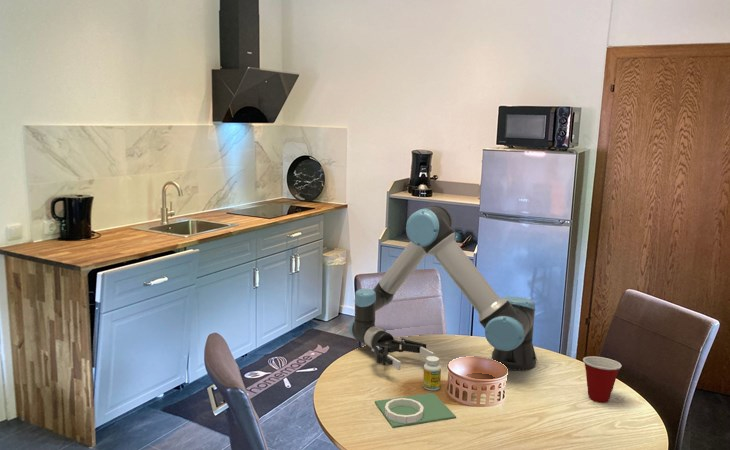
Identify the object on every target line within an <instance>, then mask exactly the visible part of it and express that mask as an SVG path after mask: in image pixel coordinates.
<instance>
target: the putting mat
mask: <svg viewBox="0 0 730 450" xmlns="http://www.w3.org/2000/svg"><path fill="white" fill-rule="evenodd" d="M398 398H406V399H413V400H415V401H418V402H420V403H421V405H422V406H423V407H424V409H423V417H422V419H421V420H419V421H417V422H414V423H408V424H407V423H406V424H405V423H397V422H394V421H392V420H390V419H388V418H387V416H386V415H385V406H386V403H387V402H389V401H391V400H392V399H398ZM374 404H375V405H376V407H377V408H378V409H379V411H380V412H381V414H382V416H383V417H385V419H386V421H387V422H388V423H389V425H390V426H391V427H392V429H394V428H401V427H407V426H413V425H414V426H415V425H420V424H427V423H433V422H434V423H435V422H439V421H446V420H451V419H452V420H453V419H456V418H457V416H456V415H455V414H454V412H452V410H451V409H450V408H449V407H448V406H447V405H446V404H445V403H444V402H443V400H441V399H440V398H439V397H438V396H437V394H435V392H429V393H422V394H416V395H415V394H414V395H406V396H402V397H400V396H399V397H394V398H385V399H381V400H374ZM390 411H391V412H393V413H396V414H399V415H412V414H416V413H417V412H419V411H418V410H417V409H415V408H412V407H409V406H397V407H393V408H391V409H390Z"/></svg>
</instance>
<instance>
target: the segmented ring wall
mask: <svg viewBox="0 0 730 450" xmlns="http://www.w3.org/2000/svg"><path fill="white" fill-rule="evenodd" d="M397 398H398V399H392V398H391V399H392V400H391V401H389V402H387V403H386V406H385V415H386V416H387V418H388V419H390V420H392V421H394V422H397V423H405V424H406V423H407V424H408V423H414V422H417V421H419V420H421V419H422V417H423V409H424V407H423V406H422V405H421V403H420V402H418V401H415V400H413V399H406V398H399V397H397ZM397 406H409V407H412V408H415V409H417V410H418V411H419V412H417V413H416V414H412V415H399V414H396V413H393V412H391V411H390V409H391V408H393V407H397Z"/></svg>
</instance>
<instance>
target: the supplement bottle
mask: <svg viewBox="0 0 730 450" xmlns="http://www.w3.org/2000/svg"><path fill="white" fill-rule="evenodd" d="M441 373H442V368H441V364H440V358H439V357H437V356H436V355H434V356H429V357H427V358H425V364H424V365H423V379H422V380H423V381H422V382H423V384H422V386H423V388H424V389H426V390H427V391H433V392H434V391H438V390H440V388H441V376H442V374H441Z"/></svg>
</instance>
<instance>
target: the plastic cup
mask: <svg viewBox="0 0 730 450" xmlns="http://www.w3.org/2000/svg"><path fill="white" fill-rule="evenodd" d="M582 361H583V363H584V368H585V369H584V370H585V375H586V386H587V394H588V395H587V396H588V397H589V400H591V401H593V402H596V403H601V404H604V403H608V402H609V400H610V398H611V395H612V392H613V390H614V386H615V382H616V379H617V376H618V374H619V371H620V369H621V368H622V366H623V365H622V364H621V363H620V362H619V361H617V360H613V359H611V358H607V357H602V356H593V355H592V356H585V357H583V358H582Z"/></svg>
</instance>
